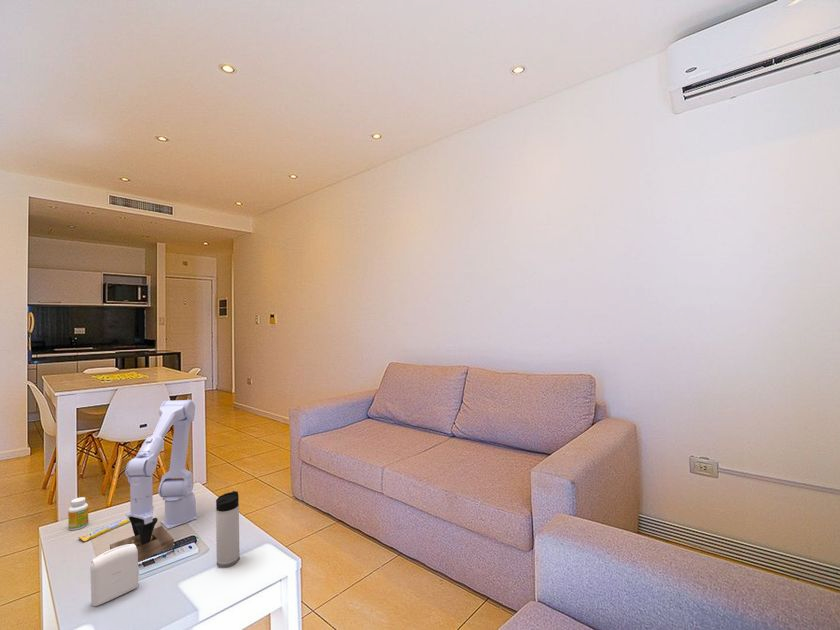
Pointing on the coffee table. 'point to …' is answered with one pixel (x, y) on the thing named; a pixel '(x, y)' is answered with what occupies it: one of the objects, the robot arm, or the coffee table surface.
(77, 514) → the supplement bottle
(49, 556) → the coffee table surface
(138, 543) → the tan flat rectangular block
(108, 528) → the candy bar
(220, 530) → the travel mug
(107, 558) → the photo printer
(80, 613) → the coffee table surface
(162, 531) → the walnut coin box
